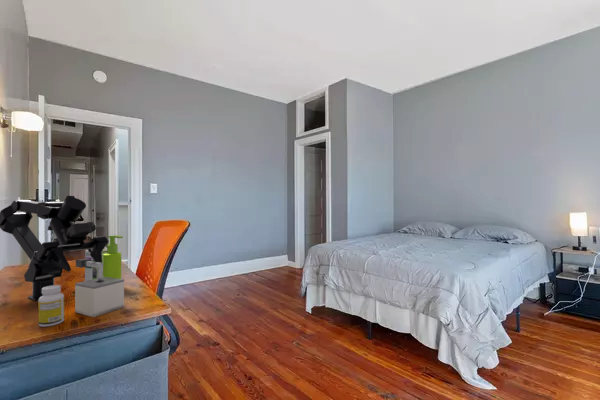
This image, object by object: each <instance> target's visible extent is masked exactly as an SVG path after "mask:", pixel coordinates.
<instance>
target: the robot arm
mask: <svg viewBox="0 0 600 400" xmlns="http://www.w3.org/2000/svg"><path fill="white" fill-rule="evenodd" d="M86 208H87V204H86V202H85V201H83V199H82V200H81V199H80V198H77V197H75V195H67V196H66V197H65V199H64V201H42V202H40V201H39V202H38V201H33V200H30V199H16V200H13V201H12V203H11V204H10V205H8V206H6V207H5V208H3V209H1V210H0V230H1V231H2V232H4V233H7V234H10V235H12V236H13V238H14V239H15V240H16V241H17V243H18V245H19V246H20V247H21V248H22V250H23V252H24V253H25V255H26V256H27V257H28V258H29V260H30V262H29V264H28V268H27V270H26V271H25V273H24V275H23V277H24V281H25V282H28V283H32V295H28V297H27V298H28V299H31V300H33V301H38V300H39V298H40V297H41V296H43V294H42V288H43V287H47V286H52V285H55V278H60V277H62V274H63V270H64V271H66V272H68V273H69V272H71V270H72V268H71V265H70V263H69V262H68V260H67V258H66V256H65V254H64V252H75V251H81V250H88V251H89V252H90V256H91V257H92V258H93V259H94V260H95V262H100V263H102V251H103V249H106V247H107V245H108V244H109V243H110V240H109V238H107V237H106V236H102V235H101V236H93V237H92V239H91V240H90V241H88V242H85V240H87V238H88V235H89V234H91V233H93V232H95V231H96V230H97V227H96V225H95V223H94V222H93V221H87V222H82V223H80V222H79V223H77V222H76V223H74V222H75V221H77V220H78V219H79V218H80V217H81V215H83V212H84V211H85V209H86ZM32 214H35V215H36V217H38V218H40V219H42V220H50V221H49V225H48V226H47V231H52V232H53V233H54V235H55V240H54V241H47V242H45V241H44V242H42V243H41V242H40V240H39V239H38V238H37V236H36V235H35V234H34V232H33V231H32V229H31V228H30V226H29V225H30V222H31V220H32V219H33V215H32Z"/></svg>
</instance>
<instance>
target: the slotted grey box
mask: <svg viewBox="0 0 600 400" xmlns="http://www.w3.org/2000/svg"><path fill="white" fill-rule="evenodd" d="M74 295H75V296H74V299H75V300H74V303H75V304H74V313H76V314H80V315H84V316H88V317H91V318H96V317H98V316H102V315H104V314H105V315H106V314H109V313H111V312H114V311H117V310H120V309H123V308H125V279H123V278H121V279H118V278H111V277H103V282H100V283H98V278H97V279H93V280H88V281H85V280H83V281H80V282H75V283H74Z"/></svg>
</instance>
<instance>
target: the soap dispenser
mask: <svg viewBox="0 0 600 400" xmlns="http://www.w3.org/2000/svg"><path fill="white" fill-rule="evenodd" d="M123 237H124V236H122V235H117V234H115V235H107V237H106V238H107V239H109V243H107V245H106V249H107V253H106V254H103V277H111V278H118V279H122V252H119V251H118V247H119V246H118V244H117V243H116V239H123Z"/></svg>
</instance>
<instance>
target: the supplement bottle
mask: <svg viewBox="0 0 600 400" xmlns="http://www.w3.org/2000/svg"><path fill="white" fill-rule="evenodd" d="M61 288H62V285H59V284H54V285H52V286H47V287H43V288H42V294H43V296H41V297H40V298H39V300H37V303H38V304H37V305H38V326H39V327H43V328H45V327H53V326H56V325H59V324H61V323H63V322H64V321H65V294H64V293H62V292H61V290H62V289H61Z"/></svg>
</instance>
